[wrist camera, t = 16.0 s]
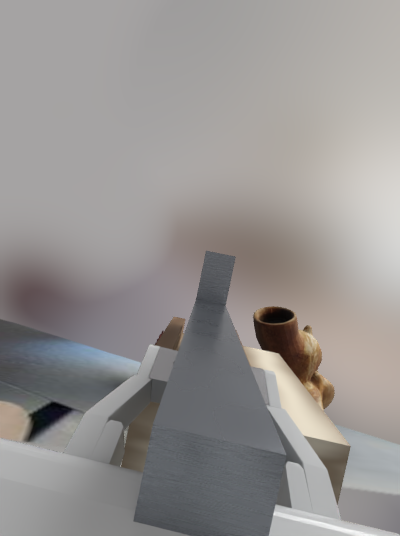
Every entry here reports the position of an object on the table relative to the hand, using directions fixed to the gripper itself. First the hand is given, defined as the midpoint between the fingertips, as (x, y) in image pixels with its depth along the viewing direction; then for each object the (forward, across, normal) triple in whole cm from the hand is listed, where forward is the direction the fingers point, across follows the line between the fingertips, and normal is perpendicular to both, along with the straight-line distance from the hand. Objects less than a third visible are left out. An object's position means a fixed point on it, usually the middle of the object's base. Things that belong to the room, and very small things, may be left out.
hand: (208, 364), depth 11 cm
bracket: (+3, 0, +4) cm, 5 cm away
